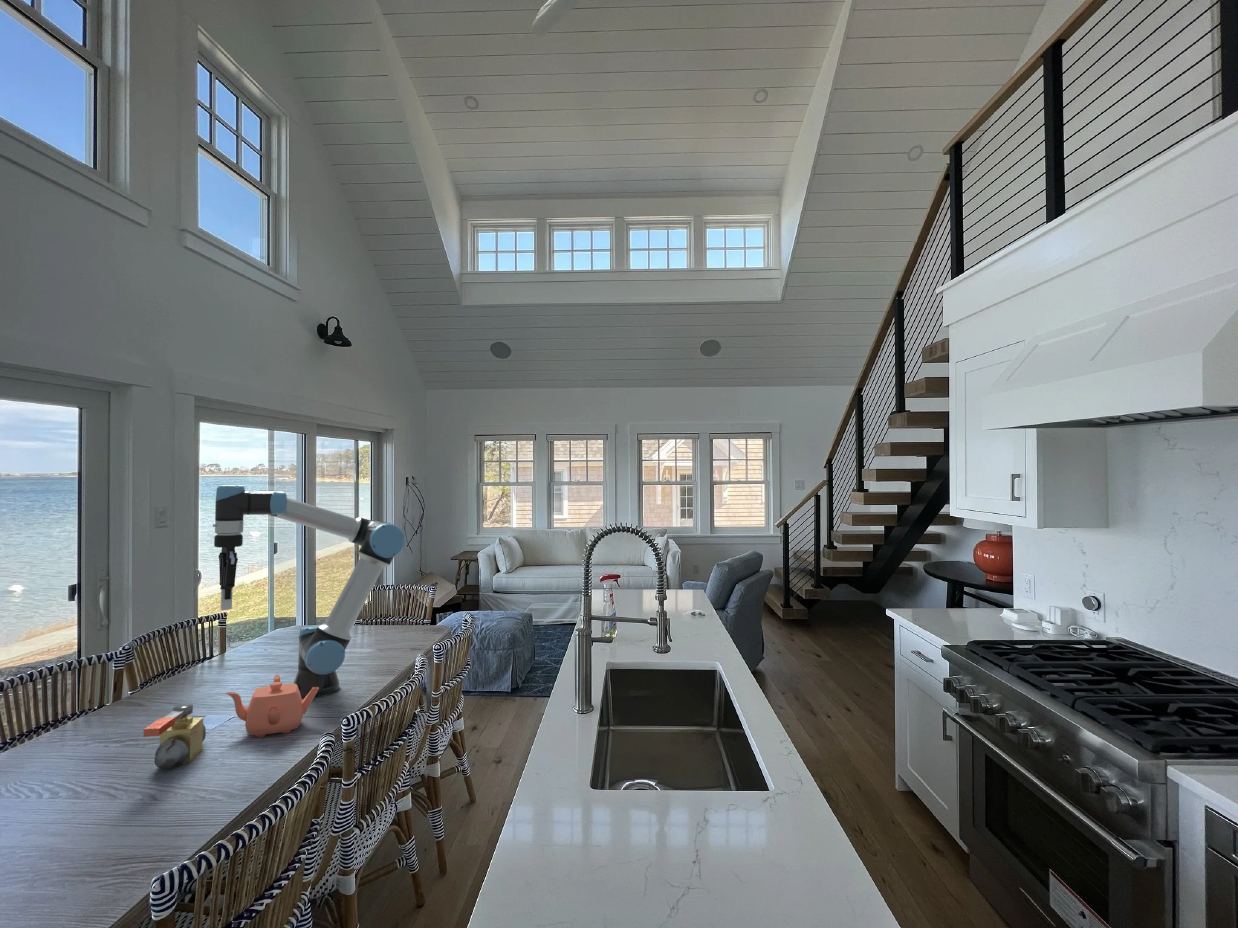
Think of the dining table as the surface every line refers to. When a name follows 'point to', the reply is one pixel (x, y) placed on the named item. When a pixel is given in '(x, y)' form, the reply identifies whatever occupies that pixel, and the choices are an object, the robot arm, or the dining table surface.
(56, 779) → the dining table surface
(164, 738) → the valve body
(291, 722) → the teapot
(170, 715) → the lever
